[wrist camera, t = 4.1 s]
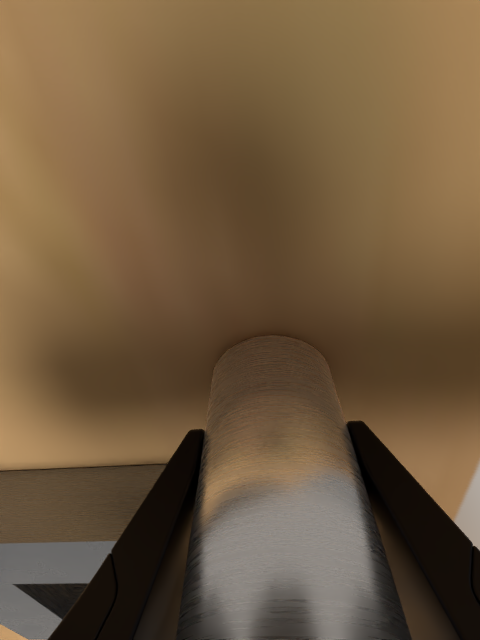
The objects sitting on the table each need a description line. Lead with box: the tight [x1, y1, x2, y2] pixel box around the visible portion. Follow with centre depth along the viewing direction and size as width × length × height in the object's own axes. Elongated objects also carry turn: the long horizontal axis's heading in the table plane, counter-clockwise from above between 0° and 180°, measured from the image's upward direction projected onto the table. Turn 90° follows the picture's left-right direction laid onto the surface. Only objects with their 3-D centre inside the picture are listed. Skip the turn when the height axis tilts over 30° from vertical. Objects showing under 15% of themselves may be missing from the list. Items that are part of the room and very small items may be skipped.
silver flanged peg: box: [176, 335, 412, 640], centre depth 7 cm, size 5×5×9 cm
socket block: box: [0, 464, 167, 639], centre depth 17 cm, size 14×14×3 cm
